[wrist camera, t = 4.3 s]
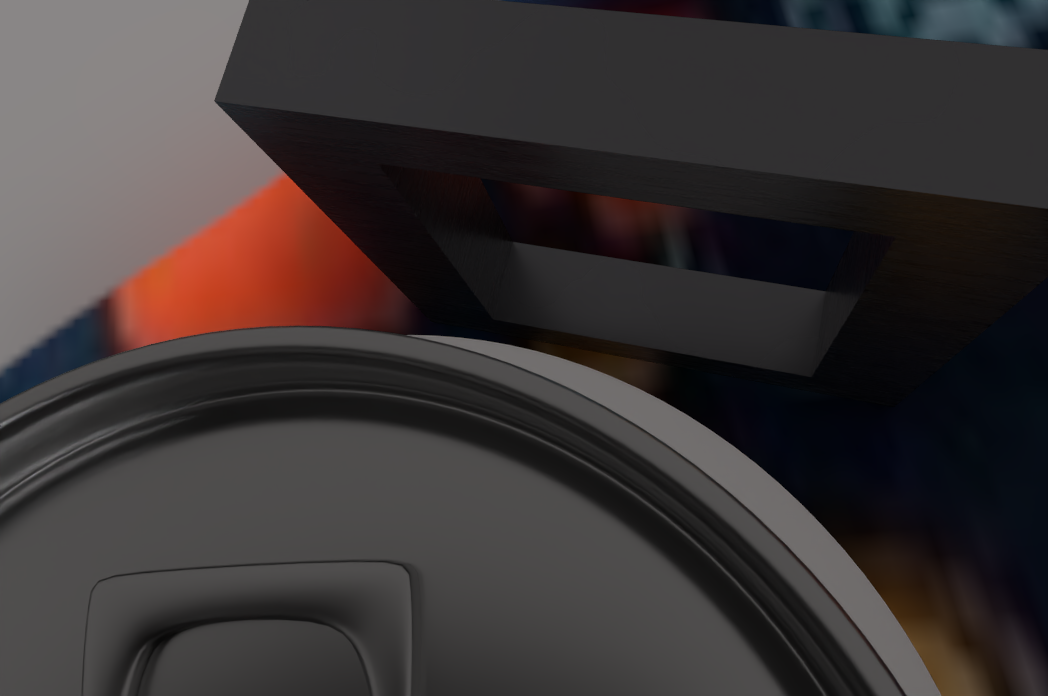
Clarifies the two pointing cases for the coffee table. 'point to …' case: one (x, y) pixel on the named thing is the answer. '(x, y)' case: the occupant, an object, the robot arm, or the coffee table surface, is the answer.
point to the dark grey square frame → (665, 173)
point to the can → (408, 533)
